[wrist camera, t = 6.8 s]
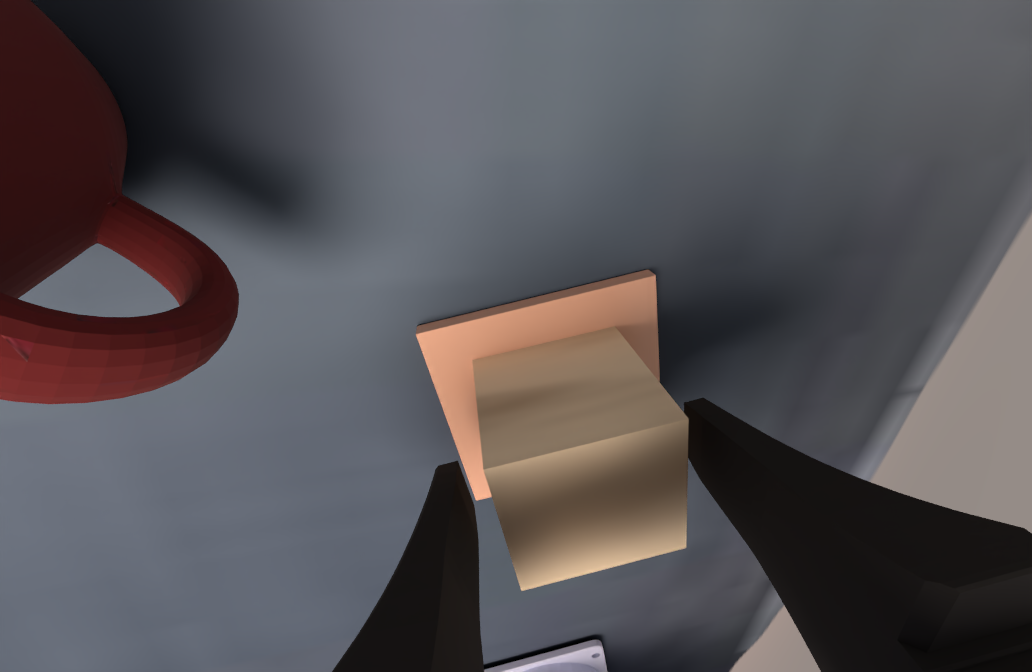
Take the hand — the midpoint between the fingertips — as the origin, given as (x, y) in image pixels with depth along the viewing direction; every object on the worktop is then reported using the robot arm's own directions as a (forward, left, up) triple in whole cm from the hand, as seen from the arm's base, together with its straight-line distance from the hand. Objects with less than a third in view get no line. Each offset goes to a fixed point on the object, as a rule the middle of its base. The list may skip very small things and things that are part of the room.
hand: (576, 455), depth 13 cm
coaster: (0, 0, -3) cm, 3 cm away
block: (0, 0, -3) cm, 3 cm away
